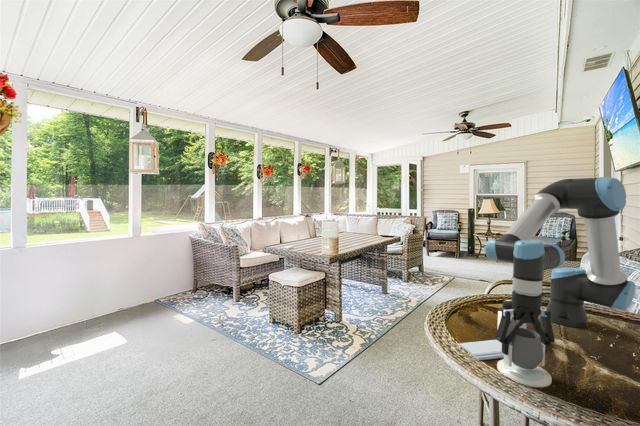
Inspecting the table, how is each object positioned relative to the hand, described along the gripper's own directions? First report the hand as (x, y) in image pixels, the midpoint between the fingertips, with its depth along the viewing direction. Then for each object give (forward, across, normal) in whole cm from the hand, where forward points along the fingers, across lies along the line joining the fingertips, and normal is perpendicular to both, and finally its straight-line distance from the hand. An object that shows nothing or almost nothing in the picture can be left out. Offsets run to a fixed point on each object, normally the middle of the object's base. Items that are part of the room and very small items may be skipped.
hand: (523, 363), depth 95 cm
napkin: (+3, +3, -14) cm, 15 cm away
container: (+3, -14, -27) cm, 31 cm away
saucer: (+3, 0, 0) cm, 3 cm away
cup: (0, 0, 0) cm, 0 cm away
